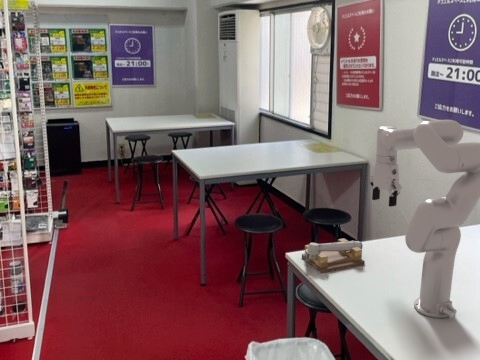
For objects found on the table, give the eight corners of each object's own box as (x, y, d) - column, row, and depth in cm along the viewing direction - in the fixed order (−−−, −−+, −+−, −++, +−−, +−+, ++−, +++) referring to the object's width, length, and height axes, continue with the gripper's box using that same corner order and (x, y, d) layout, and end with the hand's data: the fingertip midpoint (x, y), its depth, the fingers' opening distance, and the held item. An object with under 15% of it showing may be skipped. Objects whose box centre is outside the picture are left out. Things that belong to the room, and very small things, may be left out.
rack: (364, 264, 206) (365, 250, 205) (321, 273, 199) (322, 259, 198) (342, 249, 221) (343, 236, 219) (301, 257, 213) (302, 244, 212)
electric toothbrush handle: (364, 243, 210) (310, 244, 201) (361, 258, 211) (308, 259, 202) (357, 238, 214) (304, 239, 205) (354, 253, 216) (302, 254, 207)
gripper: (410, 162, 186) (407, 207, 190) (379, 154, 201) (377, 196, 206) (393, 164, 183) (391, 210, 187) (363, 156, 198) (362, 198, 203)
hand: (384, 202), depth 196 cm, fingers open, 9 cm apart
